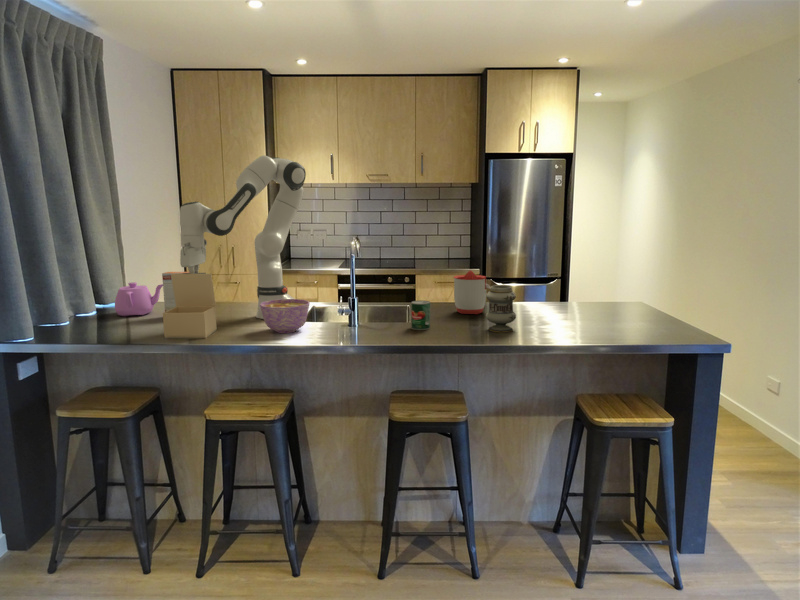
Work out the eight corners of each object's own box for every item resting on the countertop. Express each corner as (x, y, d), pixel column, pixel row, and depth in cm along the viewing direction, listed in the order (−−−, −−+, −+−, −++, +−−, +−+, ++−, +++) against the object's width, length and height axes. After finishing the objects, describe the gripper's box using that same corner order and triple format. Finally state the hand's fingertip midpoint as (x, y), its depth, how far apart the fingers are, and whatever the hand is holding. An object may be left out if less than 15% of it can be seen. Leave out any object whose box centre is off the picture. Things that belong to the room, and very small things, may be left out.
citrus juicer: (489, 316, 265) (490, 272, 262) (451, 315, 268) (452, 272, 265) (490, 309, 281) (491, 268, 277) (454, 308, 284) (455, 268, 280)
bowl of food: (267, 325, 248) (266, 299, 246) (314, 325, 248) (313, 298, 246) (255, 336, 229) (254, 307, 227) (306, 336, 228) (305, 307, 226)
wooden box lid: (215, 306, 238) (218, 302, 243) (210, 274, 233) (214, 270, 237) (176, 306, 238) (180, 302, 243) (170, 274, 233) (174, 270, 237)
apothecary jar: (485, 326, 245) (486, 283, 242) (515, 326, 243) (516, 284, 240) (485, 332, 233) (486, 288, 230) (516, 333, 231) (517, 288, 228)
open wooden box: (216, 330, 240) (215, 306, 238) (205, 338, 226) (204, 313, 225) (177, 330, 240) (176, 306, 238) (164, 338, 226) (162, 313, 224)
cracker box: (200, 316, 270) (197, 271, 266) (194, 318, 264) (191, 273, 260) (171, 315, 271) (168, 271, 268) (165, 318, 265) (161, 272, 262)
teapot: (109, 320, 262) (106, 287, 260) (120, 311, 282) (117, 280, 280) (163, 317, 267) (161, 285, 265) (170, 309, 287) (168, 279, 285)
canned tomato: (410, 329, 239) (410, 303, 237) (412, 325, 247) (412, 300, 245) (429, 330, 238) (429, 303, 236) (431, 326, 245) (431, 300, 244)
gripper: (191, 243, 225) (193, 279, 227) (208, 240, 245) (209, 273, 248) (175, 243, 225) (177, 279, 227) (193, 240, 245) (194, 273, 248)
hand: (194, 276), depth 238 cm, fingers open, 2 cm apart
